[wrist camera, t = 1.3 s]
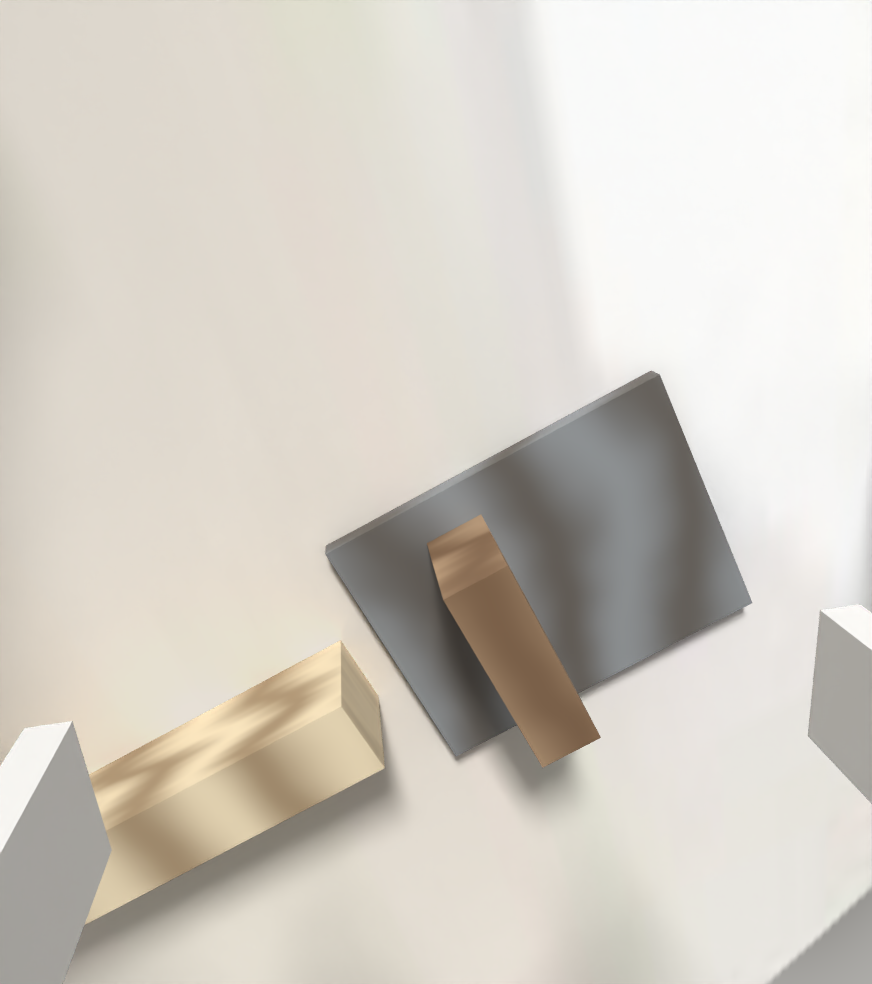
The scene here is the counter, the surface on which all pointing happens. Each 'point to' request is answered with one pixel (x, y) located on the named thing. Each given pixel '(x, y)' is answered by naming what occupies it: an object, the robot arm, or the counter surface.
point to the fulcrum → (546, 572)
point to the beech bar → (235, 773)
